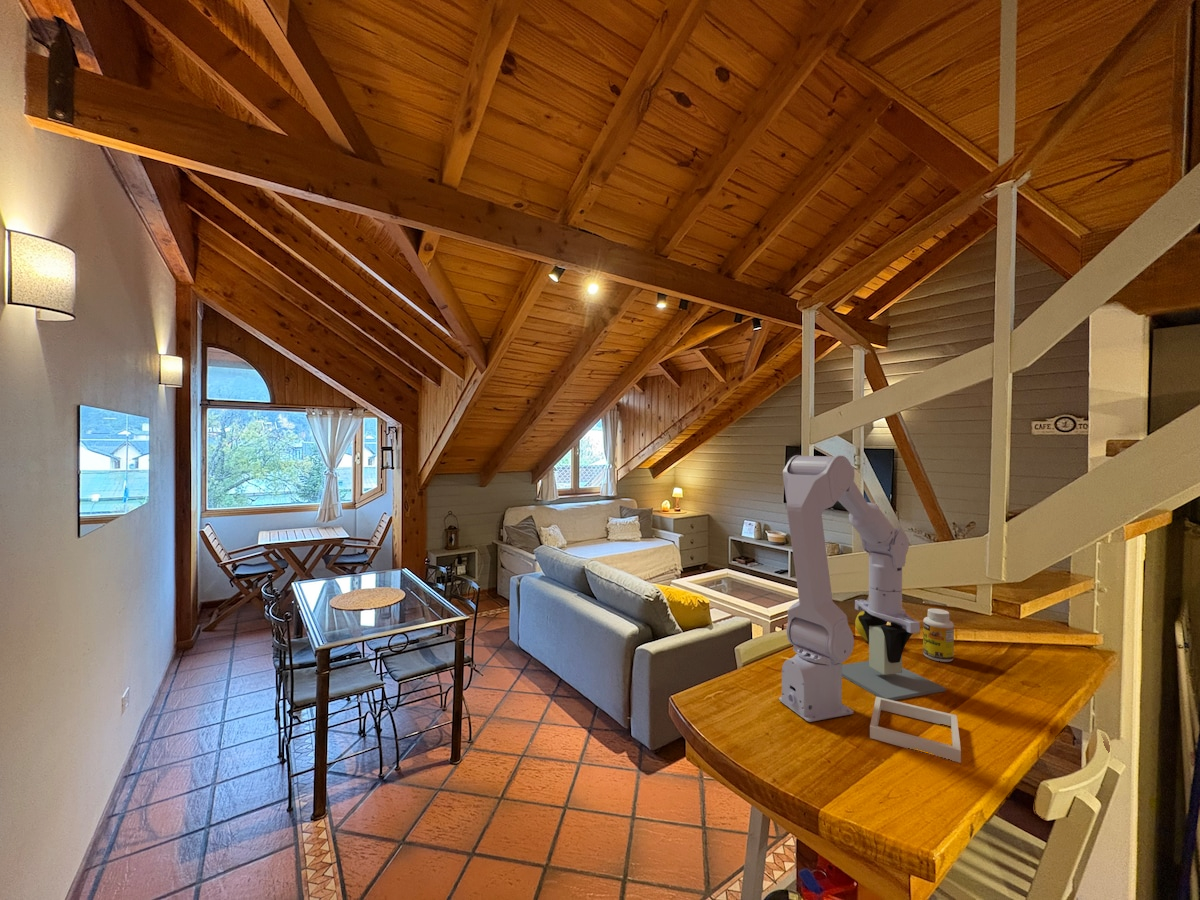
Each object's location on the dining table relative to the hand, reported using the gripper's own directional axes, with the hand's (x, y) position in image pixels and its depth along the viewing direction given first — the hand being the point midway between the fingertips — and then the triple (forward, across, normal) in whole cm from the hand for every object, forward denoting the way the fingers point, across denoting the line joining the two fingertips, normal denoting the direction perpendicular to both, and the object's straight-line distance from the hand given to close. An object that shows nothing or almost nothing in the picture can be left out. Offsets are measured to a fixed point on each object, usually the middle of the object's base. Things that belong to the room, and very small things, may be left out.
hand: (885, 657), depth 99 cm
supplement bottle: (+5, +7, -20) cm, 21 cm away
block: (+2, 0, 0) cm, 2 cm away
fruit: (+5, +18, -11) cm, 22 cm away
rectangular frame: (+4, -17, +10) cm, 20 cm away
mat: (+4, 0, 0) cm, 4 cm away
